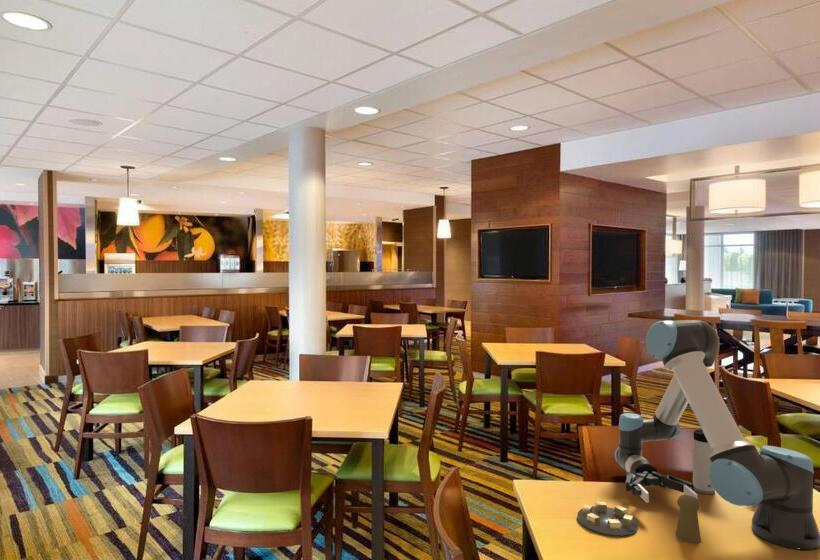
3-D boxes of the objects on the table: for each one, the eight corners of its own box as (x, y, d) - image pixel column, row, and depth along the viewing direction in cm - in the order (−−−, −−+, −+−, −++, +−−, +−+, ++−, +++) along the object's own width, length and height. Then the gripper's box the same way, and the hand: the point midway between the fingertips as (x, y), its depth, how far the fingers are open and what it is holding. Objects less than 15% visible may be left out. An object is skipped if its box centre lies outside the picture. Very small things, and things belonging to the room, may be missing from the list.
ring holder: (642, 518, 147) (642, 508, 147) (632, 542, 134) (632, 531, 134) (585, 505, 156) (585, 495, 156) (570, 526, 142) (571, 515, 142)
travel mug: (715, 496, 163) (716, 433, 163) (692, 491, 167) (692, 430, 167) (716, 489, 168) (716, 429, 168) (693, 485, 172) (694, 425, 172)
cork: (704, 544, 133) (705, 502, 133) (679, 542, 134) (679, 500, 134) (696, 533, 139) (696, 493, 139) (672, 531, 140) (672, 491, 140)
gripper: (680, 483, 167) (716, 513, 145) (602, 481, 168) (627, 510, 147) (680, 460, 167) (716, 486, 145) (603, 458, 168) (627, 484, 147)
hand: (671, 498), depth 146 cm, fingers open, 13 cm apart
